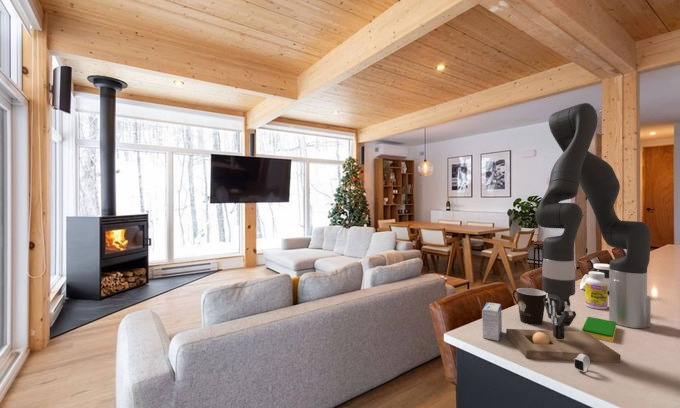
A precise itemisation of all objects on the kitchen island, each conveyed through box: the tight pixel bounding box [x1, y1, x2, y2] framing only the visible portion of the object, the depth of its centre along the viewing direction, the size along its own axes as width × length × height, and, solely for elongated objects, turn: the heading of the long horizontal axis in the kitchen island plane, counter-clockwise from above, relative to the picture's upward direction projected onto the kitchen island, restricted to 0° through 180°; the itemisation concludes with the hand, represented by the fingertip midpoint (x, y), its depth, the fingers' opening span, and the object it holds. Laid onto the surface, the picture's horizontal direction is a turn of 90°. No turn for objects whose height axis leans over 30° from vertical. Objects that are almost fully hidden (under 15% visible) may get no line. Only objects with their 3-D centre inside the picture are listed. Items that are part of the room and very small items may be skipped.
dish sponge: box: [581, 316, 617, 343], centre depth 101 cm, size 7×14×2 cm, turn 137°
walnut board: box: [505, 328, 621, 364], centre depth 90 cm, size 22×14×2 cm, turn 82°
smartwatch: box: [573, 354, 591, 373], centre depth 78 cm, size 4×2×4 cm, turn 118°
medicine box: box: [481, 302, 503, 341], centre depth 99 cm, size 8×4×9 cm, turn 148°
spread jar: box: [579, 263, 610, 295], centre depth 142 cm, size 12×11×12 cm
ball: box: [532, 332, 550, 344], centre depth 91 cm, size 4×4×4 cm
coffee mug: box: [512, 287, 547, 326], centre depth 111 cm, size 12×9×10 cm
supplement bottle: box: [584, 270, 609, 310], centre depth 122 cm, size 7×7×13 cm
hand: (558, 338), depth 90 cm, fingers closed
